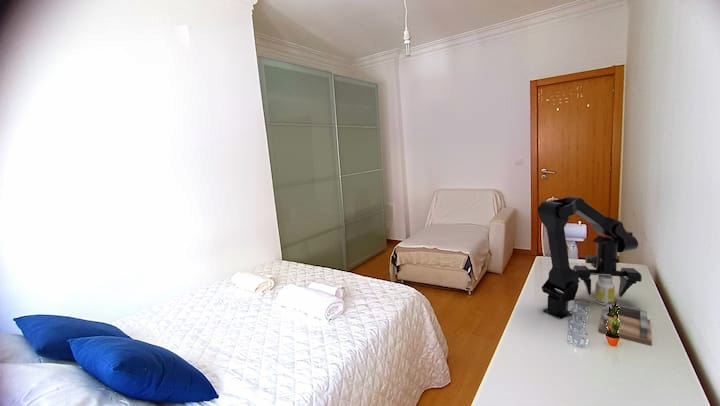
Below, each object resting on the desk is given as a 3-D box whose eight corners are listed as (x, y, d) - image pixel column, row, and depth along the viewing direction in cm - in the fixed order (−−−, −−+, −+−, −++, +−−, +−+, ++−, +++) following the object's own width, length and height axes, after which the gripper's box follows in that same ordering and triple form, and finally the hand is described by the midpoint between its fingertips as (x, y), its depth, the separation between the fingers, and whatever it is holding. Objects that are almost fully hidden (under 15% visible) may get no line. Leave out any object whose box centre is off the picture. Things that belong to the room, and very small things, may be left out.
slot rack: (651, 345, 90) (652, 331, 90) (598, 332, 98) (599, 319, 97) (649, 323, 101) (650, 310, 100) (602, 312, 108) (602, 301, 108)
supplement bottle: (611, 300, 116) (613, 274, 115) (615, 307, 111) (616, 280, 110) (593, 297, 119) (594, 272, 117) (596, 304, 114) (597, 278, 112)
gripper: (629, 248, 116) (626, 288, 119) (569, 246, 123) (568, 284, 125) (644, 258, 106) (640, 302, 109) (578, 255, 112) (576, 297, 115)
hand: (604, 295), depth 115 cm, fingers open, 9 cm apart
